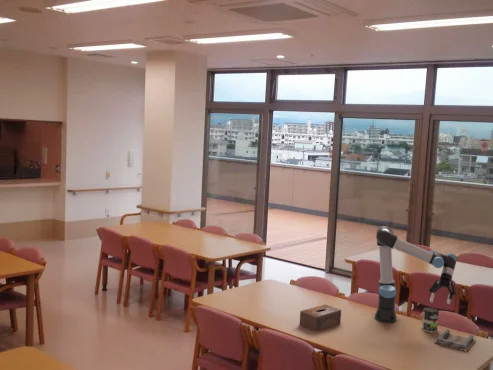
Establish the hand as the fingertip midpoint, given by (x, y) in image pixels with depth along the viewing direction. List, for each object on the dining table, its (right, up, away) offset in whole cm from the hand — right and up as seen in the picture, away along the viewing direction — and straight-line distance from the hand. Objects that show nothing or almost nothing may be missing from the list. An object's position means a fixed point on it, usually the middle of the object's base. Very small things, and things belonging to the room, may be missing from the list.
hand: (439, 302), depth 373 cm
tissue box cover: (-83, -15, -3) cm, 85 cm away
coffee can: (-8, -18, -4) cm, 20 cm away
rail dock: (+1, -20, -25) cm, 32 cm away
